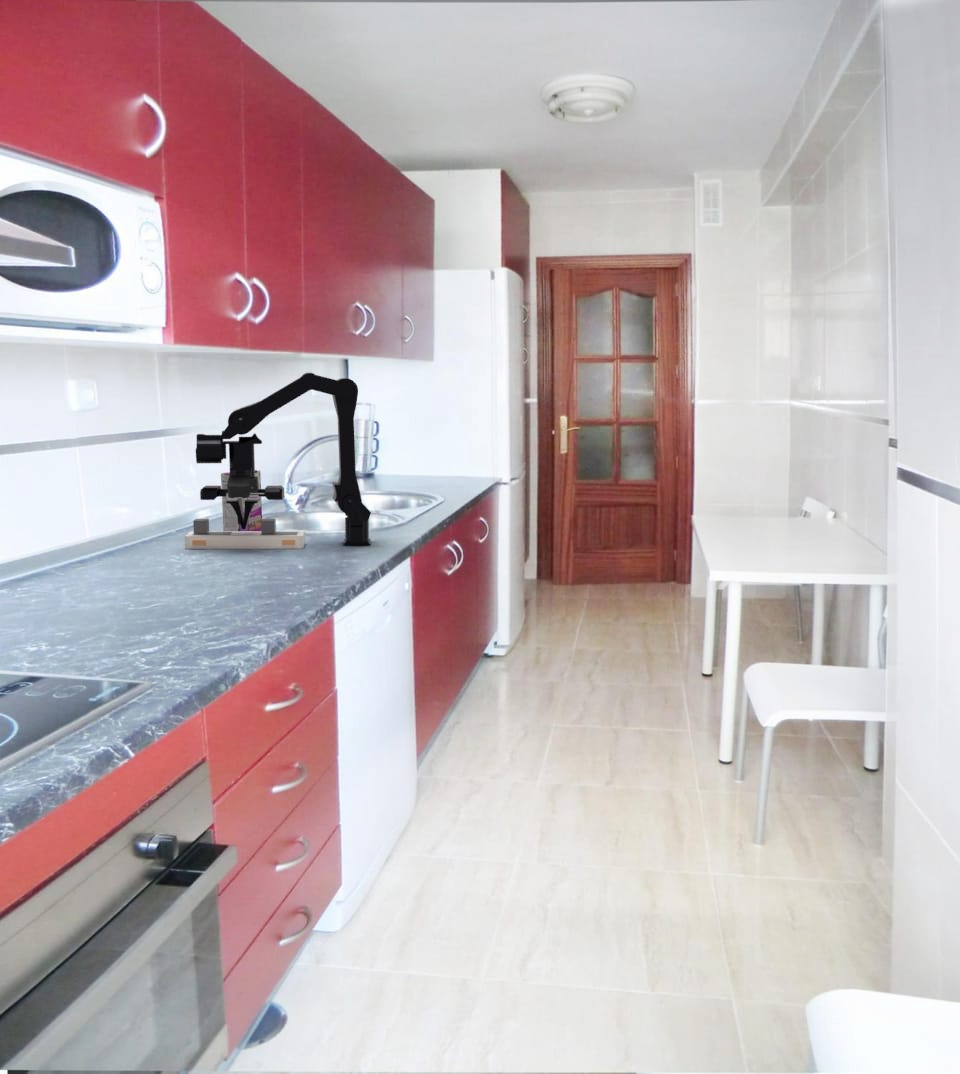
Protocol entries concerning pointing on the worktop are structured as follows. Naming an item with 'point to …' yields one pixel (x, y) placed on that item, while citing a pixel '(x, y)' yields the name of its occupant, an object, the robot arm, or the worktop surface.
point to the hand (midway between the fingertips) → (244, 528)
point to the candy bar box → (256, 514)
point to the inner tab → (268, 525)
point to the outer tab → (201, 525)
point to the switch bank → (245, 540)
